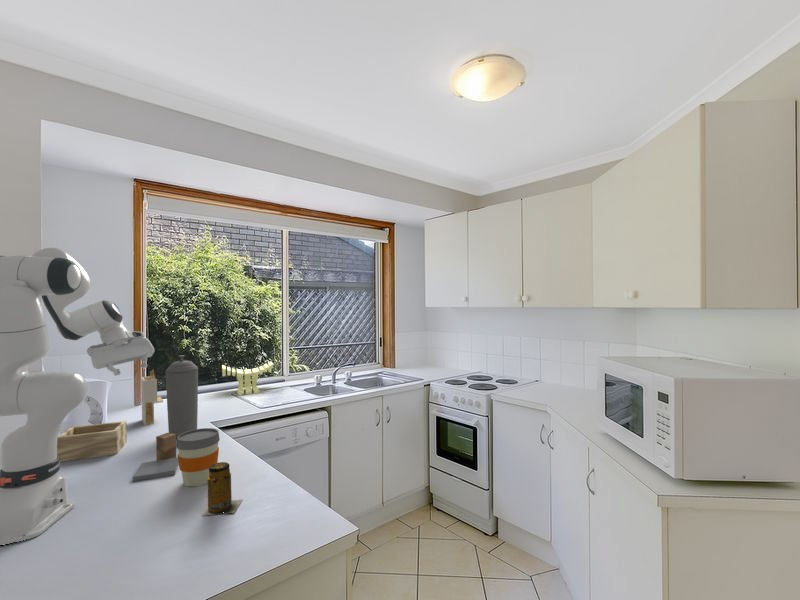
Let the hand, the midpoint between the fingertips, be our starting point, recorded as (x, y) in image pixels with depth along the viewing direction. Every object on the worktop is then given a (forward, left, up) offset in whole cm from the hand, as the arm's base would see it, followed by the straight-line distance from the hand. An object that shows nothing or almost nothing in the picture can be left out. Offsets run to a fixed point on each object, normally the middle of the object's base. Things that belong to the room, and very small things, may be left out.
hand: (131, 370), depth 147 cm
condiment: (-55, -33, -33) cm, 72 cm away
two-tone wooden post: (+48, +4, -33) cm, 59 cm away
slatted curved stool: (+95, -42, -33) cm, 109 cm away
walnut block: (-9, -12, -33) cm, 36 cm away
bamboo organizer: (+12, +16, -32) cm, 38 cm away
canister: (+19, -14, -33) cm, 41 cm away
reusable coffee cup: (-33, -25, -33) cm, 53 cm away
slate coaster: (-19, -11, -32) cm, 39 cm away
